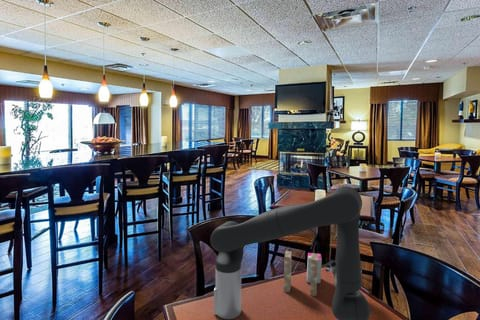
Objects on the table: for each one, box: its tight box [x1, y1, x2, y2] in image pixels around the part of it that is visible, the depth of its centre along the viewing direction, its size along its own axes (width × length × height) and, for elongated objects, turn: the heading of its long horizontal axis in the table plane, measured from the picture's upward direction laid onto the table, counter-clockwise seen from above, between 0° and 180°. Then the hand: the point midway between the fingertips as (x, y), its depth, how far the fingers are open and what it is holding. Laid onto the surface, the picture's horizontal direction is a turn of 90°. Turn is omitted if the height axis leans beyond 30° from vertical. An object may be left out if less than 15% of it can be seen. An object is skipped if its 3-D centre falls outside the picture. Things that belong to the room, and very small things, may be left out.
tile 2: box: [309, 252, 319, 297], centre depth 123 cm, size 2×6×15 cm, turn 166°
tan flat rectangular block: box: [283, 250, 293, 293], centre depth 126 cm, size 2×6×15 cm, turn 166°
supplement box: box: [306, 252, 323, 285], centre depth 132 cm, size 6×6×12 cm
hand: (341, 259), depth 123 cm, fingers closed
